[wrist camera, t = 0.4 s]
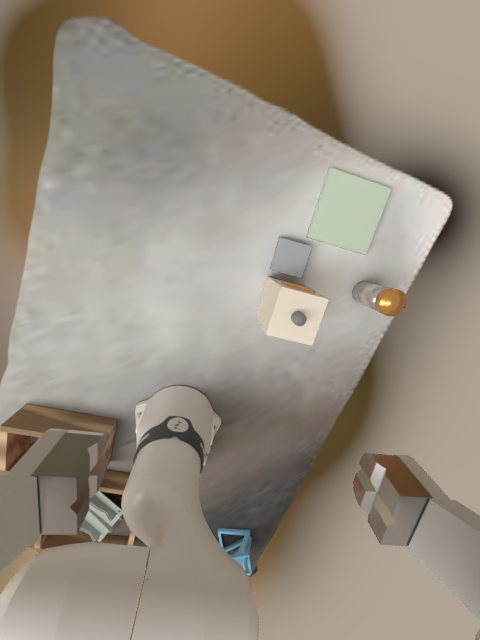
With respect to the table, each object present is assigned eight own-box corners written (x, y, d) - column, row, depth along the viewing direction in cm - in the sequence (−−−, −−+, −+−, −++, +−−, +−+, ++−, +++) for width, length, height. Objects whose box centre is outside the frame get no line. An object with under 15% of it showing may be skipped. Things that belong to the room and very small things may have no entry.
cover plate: (297, 276, 53) (301, 278, 51) (269, 268, 52) (271, 270, 50) (307, 246, 52) (312, 246, 49) (278, 237, 51) (281, 237, 48)
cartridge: (368, 305, 56) (399, 319, 46) (348, 300, 55) (375, 312, 45) (377, 284, 54) (411, 293, 45) (356, 278, 54) (386, 286, 44)
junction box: (292, 324, 55) (315, 349, 42) (255, 314, 54) (267, 338, 41) (305, 284, 53) (334, 299, 40) (267, 274, 52) (284, 285, 39)
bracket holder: (109, 461, 61) (96, 488, 55) (23, 447, 59) (-2, 474, 52) (117, 419, 58) (104, 442, 52) (26, 403, 56) (0, 425, 49)
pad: (362, 254, 52) (366, 254, 51) (306, 237, 51) (308, 237, 50) (387, 189, 49) (391, 188, 48) (328, 169, 48) (331, 167, 46)
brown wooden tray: (134, 541, 69) (129, 561, 65) (45, 531, 66) (33, 551, 61) (149, 476, 63) (144, 493, 59) (53, 462, 60) (41, 479, 56)
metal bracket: (126, 515, 59) (93, 557, 62) (140, 495, 65) (109, 534, 68) (77, 473, 60) (46, 517, 63) (95, 457, 66) (66, 498, 68)
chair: (252, 543, 73) (259, 600, 61) (221, 549, 72) (223, 607, 61) (248, 522, 70) (255, 577, 59) (217, 528, 70) (218, 584, 58)
